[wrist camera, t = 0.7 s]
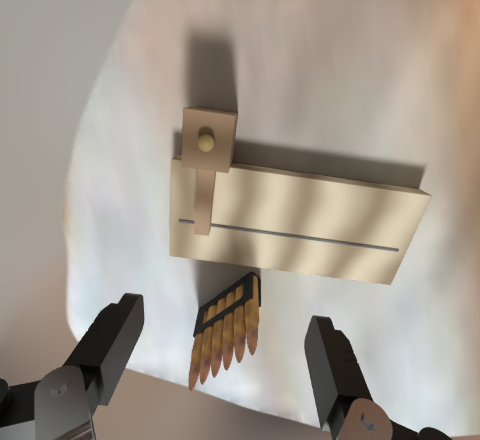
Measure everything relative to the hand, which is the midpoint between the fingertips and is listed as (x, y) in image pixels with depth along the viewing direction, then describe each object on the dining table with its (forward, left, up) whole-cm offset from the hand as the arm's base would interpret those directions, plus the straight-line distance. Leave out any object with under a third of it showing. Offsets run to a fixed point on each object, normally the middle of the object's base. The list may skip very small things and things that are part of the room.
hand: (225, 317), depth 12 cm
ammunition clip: (+16, 0, -21) cm, 26 cm away
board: (+3, +6, -20) cm, 22 cm away
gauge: (-2, -4, -20) cm, 21 cm away
